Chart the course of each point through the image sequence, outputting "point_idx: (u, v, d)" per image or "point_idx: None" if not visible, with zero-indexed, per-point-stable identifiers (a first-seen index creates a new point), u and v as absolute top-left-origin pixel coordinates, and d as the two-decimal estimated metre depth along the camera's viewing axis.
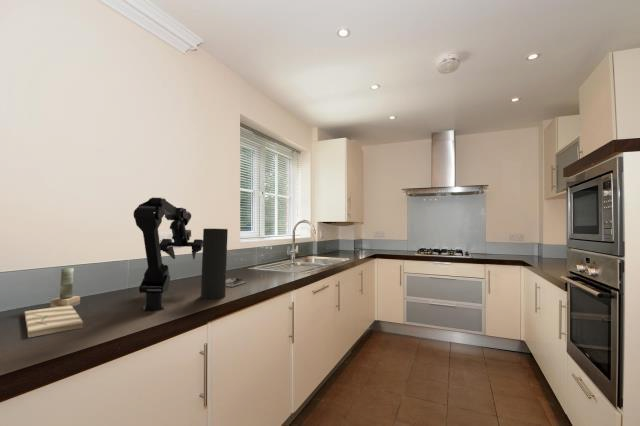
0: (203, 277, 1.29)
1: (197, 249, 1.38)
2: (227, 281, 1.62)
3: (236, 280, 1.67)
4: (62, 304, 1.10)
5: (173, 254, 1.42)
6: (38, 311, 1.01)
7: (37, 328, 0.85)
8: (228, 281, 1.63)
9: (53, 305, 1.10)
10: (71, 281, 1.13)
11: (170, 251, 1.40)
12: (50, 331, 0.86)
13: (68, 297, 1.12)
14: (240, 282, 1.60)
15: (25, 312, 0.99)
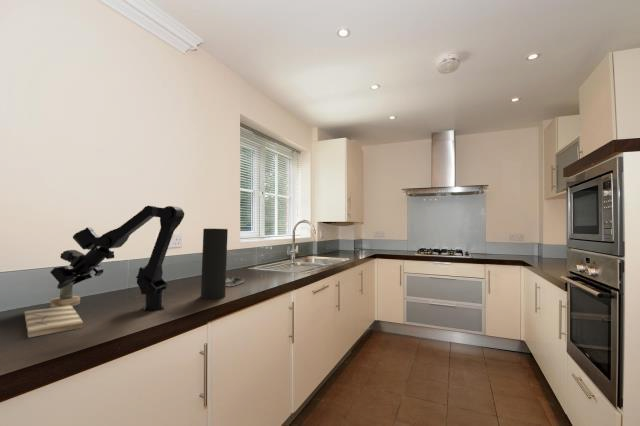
0: (203, 277, 1.29)
1: (99, 274, 1.21)
2: (226, 281, 1.63)
3: (234, 280, 1.67)
4: (62, 304, 1.10)
5: None
6: (38, 311, 1.01)
7: (37, 328, 0.85)
8: (227, 281, 1.63)
9: (53, 305, 1.10)
10: None
11: None
12: (50, 331, 0.86)
13: (68, 297, 1.12)
14: (239, 282, 1.61)
15: (25, 312, 0.99)
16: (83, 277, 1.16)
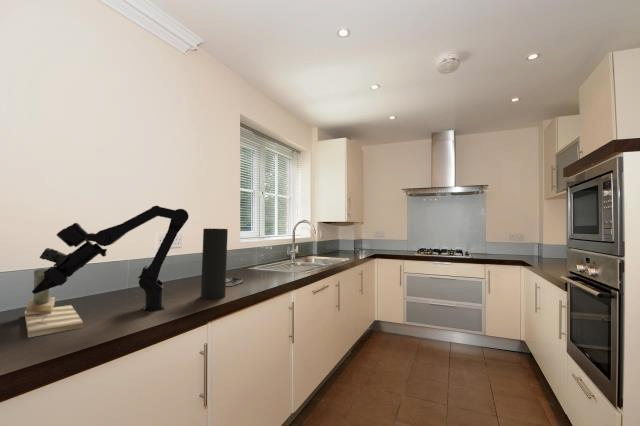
0: (203, 277, 1.29)
1: None
2: None
3: (233, 280, 1.68)
4: (44, 310, 0.98)
5: None
6: None
7: (37, 328, 0.85)
8: None
9: (30, 312, 0.96)
10: None
11: None
12: (50, 331, 0.86)
13: (47, 301, 0.99)
14: (238, 281, 1.61)
15: (25, 312, 0.99)
16: None
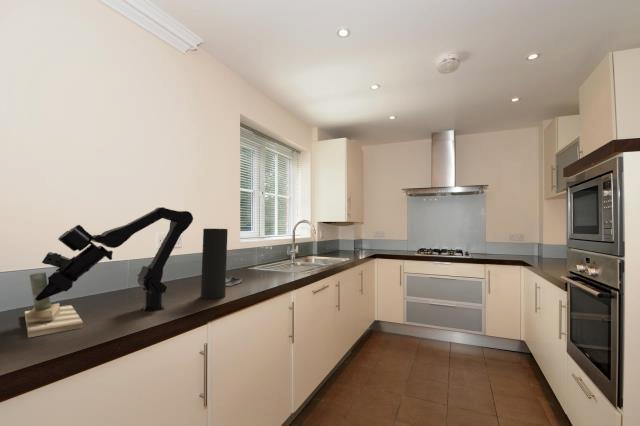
0: (203, 277, 1.29)
1: None
2: None
3: (232, 279, 1.68)
4: (45, 316, 0.90)
5: None
6: None
7: (37, 328, 0.85)
8: None
9: (31, 320, 0.89)
10: None
11: None
12: (50, 331, 0.86)
13: (48, 307, 0.92)
14: (237, 281, 1.62)
15: (25, 312, 0.99)
16: None
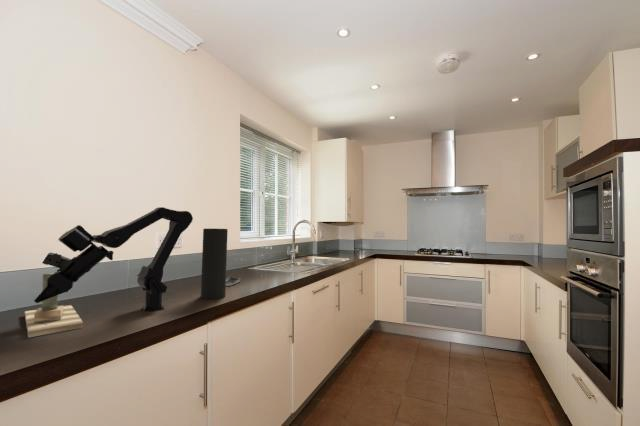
0: (203, 277, 1.29)
1: None
2: None
3: (230, 279, 1.68)
4: (54, 315, 0.92)
5: None
6: None
7: (37, 328, 0.85)
8: None
9: (39, 319, 0.90)
10: None
11: None
12: (50, 331, 0.86)
13: (56, 307, 0.94)
14: (236, 281, 1.62)
15: (25, 312, 0.99)
16: None
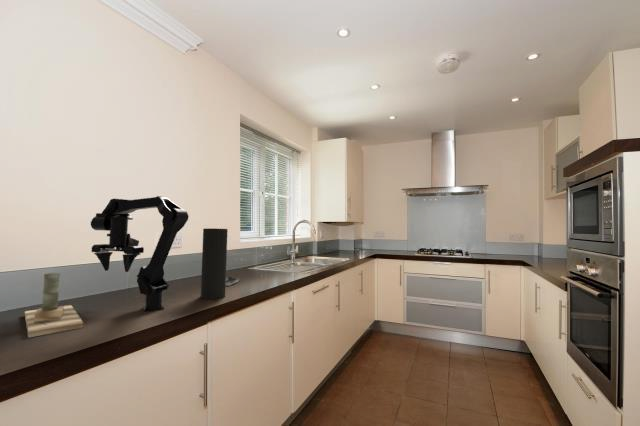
0: (203, 277, 1.29)
1: (129, 251, 1.12)
2: None
3: (228, 279, 1.69)
4: (54, 316, 0.92)
5: (106, 263, 1.17)
6: None
7: (37, 328, 0.85)
8: None
9: (39, 319, 0.90)
10: (58, 288, 0.95)
11: (103, 256, 1.16)
12: (50, 331, 0.86)
13: (56, 307, 0.94)
14: (235, 281, 1.63)
15: (25, 312, 0.99)
16: None
